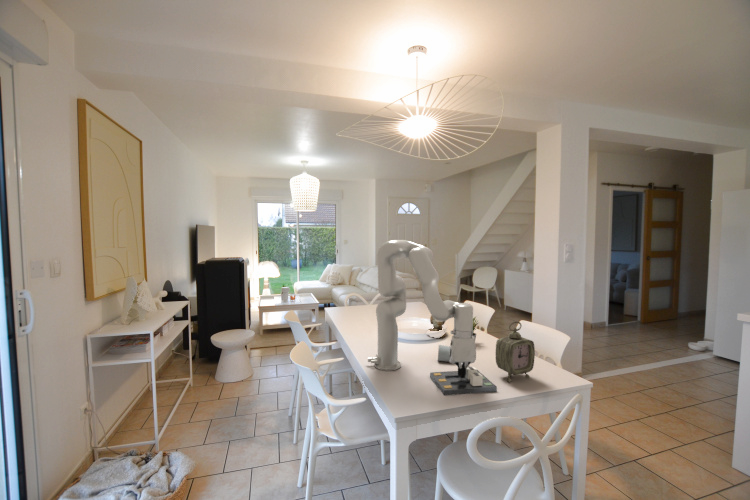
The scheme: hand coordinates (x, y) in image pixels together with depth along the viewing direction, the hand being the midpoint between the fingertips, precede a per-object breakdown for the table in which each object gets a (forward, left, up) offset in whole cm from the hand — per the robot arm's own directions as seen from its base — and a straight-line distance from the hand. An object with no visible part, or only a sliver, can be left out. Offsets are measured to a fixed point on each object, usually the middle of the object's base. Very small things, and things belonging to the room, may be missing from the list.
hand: (461, 376), depth 139 cm
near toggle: (+4, -6, -1) cm, 7 cm away
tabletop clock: (+25, +3, -3) cm, 25 cm away
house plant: (+26, +49, -3) cm, 55 cm away
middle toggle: (+4, 0, -1) cm, 4 cm away
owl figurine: (+13, +69, -4) cm, 70 cm away
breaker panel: (0, 0, -3) cm, 3 cm away
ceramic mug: (+3, +27, -4) cm, 27 cm away
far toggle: (+4, +6, -1) cm, 7 cm away
